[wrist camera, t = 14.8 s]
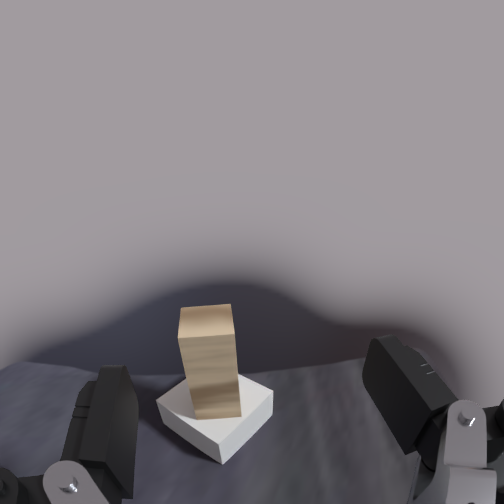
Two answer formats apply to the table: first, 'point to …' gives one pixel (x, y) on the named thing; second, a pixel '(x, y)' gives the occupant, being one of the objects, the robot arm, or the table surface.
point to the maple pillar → (210, 360)
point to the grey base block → (217, 430)
